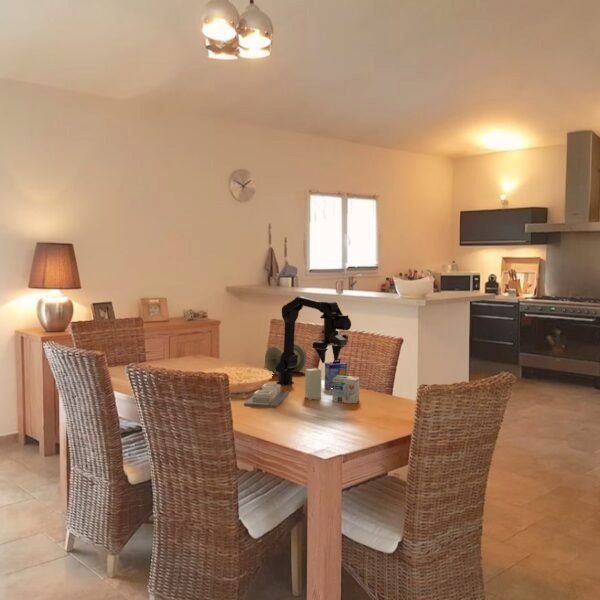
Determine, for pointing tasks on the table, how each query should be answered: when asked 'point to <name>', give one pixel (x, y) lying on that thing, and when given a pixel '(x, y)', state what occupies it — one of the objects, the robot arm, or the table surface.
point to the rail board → (273, 404)
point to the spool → (275, 354)
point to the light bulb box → (345, 389)
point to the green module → (313, 384)
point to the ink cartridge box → (334, 372)
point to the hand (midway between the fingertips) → (329, 361)
